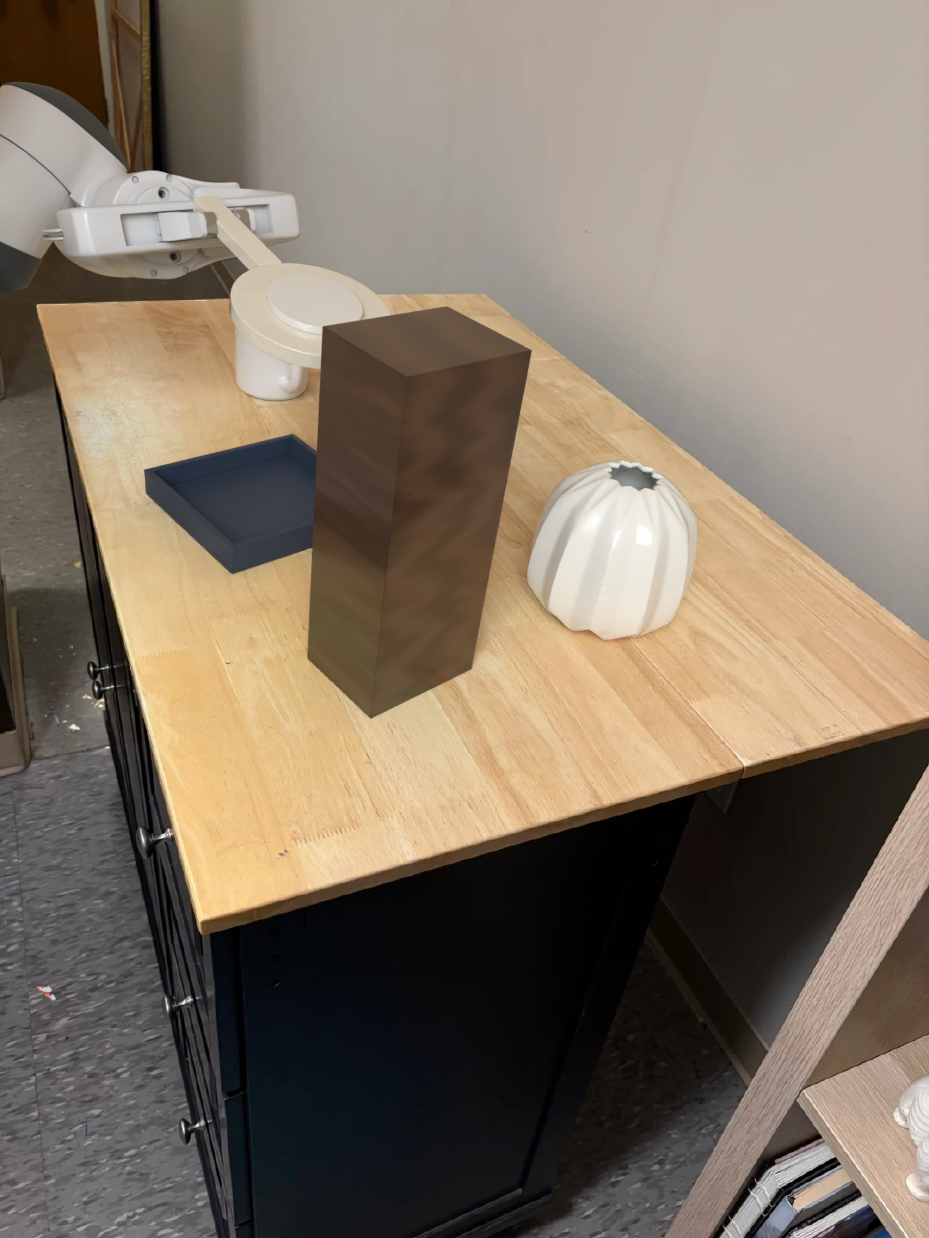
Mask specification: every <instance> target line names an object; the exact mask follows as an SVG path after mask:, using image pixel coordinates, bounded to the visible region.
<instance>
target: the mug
mask: <svg viewBox="0 0 929 1238" xmlns="http://www.w3.org/2000/svg"><path fill="white" fill-rule="evenodd" d="M234 369H235V370H234V371H235V372H234V373H235V381H236V385H237V387H238V388H239V390H240V391H242V392H243V393H244V394H246V395H248V396H249V397H252V398H255V399H258V400H264V401H272V402H273V401H274V402H279V401H289V400H292V399H295V398H298V397H300V396H301V395H302V394H303V393H304V392H305V391H306V390H307V387H308V380H309V368H306V367H302V366H298V365H294V364H291V363H288V362H285V361H282V360H280V359H278V358H275V357H273V356H271V355H269V354H267V353H265V352H263V351H262V350H260V349H259V348H257V347H255V346H254V345H253V344H252V343H250V342H249V341H248V340H247V339H246V338H245V337H244V336H242V335H241V333H240V332H239V331H238V330H237V328H236V327H235V326H234Z"/></svg>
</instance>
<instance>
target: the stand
mask: <svg viewBox="0 0 929 1238" xmlns="http://www.w3.org/2000/svg"><path fill="white" fill-rule="evenodd" d="M532 352H533V350H532V349H531V348H529V347H527V346H526V345H523V344H521V343H519V342H517V341H516V340H513V339H512V338H510V337H507V336H505V335H504V334H502V333H500V332H498V331H496V330H494V329H493V328H490V327H488V326H486V325H485V324H483V323H480V322H479V321H477V320H474V319H472V317H469V316H467V315H465V314H463V313H461V312H459V311H457V310H455V309H454V308H451V307H450V306H448V305H446V306H440V307H433V308H428V309H427V308H426V309H421V310H415V311H409V312H402V313H396V314H392V315H389V316H383V317H377V318H371V319H365V320H358V321H352V322H346V323H340V324H334V325H327V326H323V327H322V348H321V370H319V371H320V373H319V392H318V393H319V395H318V416H317V434H316V435H317V436H316V437H317V438H316V451H317V457H316V479H315V500H314V522H313V544H312V548H311V567H310V589H309V608H308V609H309V612H308V631H307V632H308V636H307V655H306V658H307V660H308V661H309V662H310V663H311V664H312V665H313V666H315V667H316V668H317V669H318V671H320V672H321V673H322V674H323V675H324V676H325V677H326V678H327V679H328V680H329V681H330V682H331V683H333V685H335V686H336V687H337V689H339V690H340V691H341V692H342V693H343V694H344V695H345V696H346V697H347V698H348V699H349V700H350V701H351V702H353V703H354V705H355V706H356V707H358V708H359V710H361V711H362V713H364V714H365V715H366V716H367V717H368V718H369V719H374V718H376V717H377V716H379V715H381V714H384V713H385V712H388V711H389V710H392V709H394V708H395V707H397V706H400V705H402V704H403V703H406V702H407V701H410V700H412V699H414V698H416V697H418V696H420V695H422V694H424V693H426V692H428V691H430V690H432V689H434V688H436V687H438V686H440V685H442V684H444V683H446V682H449V681H450V680H452V679H454V678H457V677H459V676H460V675H463V674H464V673H466V672H469V671H471V670H472V668H473V663H474V659H475V653H476V648H477V642H478V638H479V631H480V627H481V621H482V615H483V610H484V605H485V600H486V594H487V589H488V584H489V579H490V574H491V568H492V563H493V558H494V552H495V548H496V542H497V537H498V531H499V527H500V522H501V516H502V510H503V505H504V500H505V494H506V489H507V484H508V479H509V475H510V469H511V463H512V459H513V454H514V453H513V452H514V447H515V442H516V438H517V431H518V426H519V420H520V417H521V411H522V405H523V401H524V394H525V389H526V384H527V378H528V374H529V368H530V362H531V358H532Z"/></svg>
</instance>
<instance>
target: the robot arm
mask: <svg viewBox="0 0 929 1238" xmlns="http://www.w3.org/2000/svg"><path fill="white" fill-rule="evenodd" d="M205 196H217V197H218V198H219V199H220V200H221V201H222V202H223V203H224V204H225V205H226V206H227V207H228V208H229V209H230V211H231V212H232V213H233V214H234V215H235V216H236V217H237V218H238V219H239V220H240V221H241V222H242V223H243V224H244V225H245V226H246V227H247V228H248V229H249V230H250V231H251V232H252V233H253V234H254V235H255V236H256V237H257V238H258V239H259V240H260V241H261V242H262V243H263V244H264V245H265V246H266V247H271V246H275V245H279V244H284V243H289V242H292V241H295V240H297V239H298V238H299V237H300V236H301V232H302V224H301V214H300V208H299V204H298V200H297V198H296V196H295V195H294V194H292V193H290V192H284V191H276V190H265V189H255V188H254V189H253V188H241V186H240V184H239V183H238V182H235V181H233V182H232V181H231V182H230V181H229V182H228V181H226V180H225V181H224V180H223V181H222V180H221V181H218V180H217V181H215V180H213V181H212V180H204V179H203V180H202V179H192V178H189V177H185V176H181V175H177V174H170V173H167V172H164V171H160V170H143V171H136V172H131V173H129V167H128V163H127V161H126V158H125V156H124V154H123V152H122V150H121V148H120V146H119V144H118V142H117V141H116V139H115V138H114V136H113V135H112V134H111V133H110V131H109V130H108V129H107V128H106V127H105V125H104V124H103V123H102V122H101V121H100V120H99V118H97V117H96V116H95V115H94V114H93V113H92V112H91V111H90V110H89V109H88V108H86V107H85V106H84V105H82V104H81V103H80V102H79V101H77V100H76V98H73V97H72V96H71V95H69V94H67V93H66V92H64V91H62V90H59V89H56V88H54V87H52V86H47V85H43V84H39V83H32V82H26V81H11V82H6V83H2V84H1V85H0V295H1V294H8V293H12V292H17V291H21V290H24V289H27V288H29V286H30V284H31V282H32V281H33V278H34V277H35V275H36V273H37V271H38V270H39V268H40V265H41V264H42V263H43V257H44V256H45V254H46V253H47V251H48V250H49V248H50V247H51V245H52V244H53V243H54V245H55V247H56V248H57V249H58V250H59V252H60V253H61V254H62V255H63V256H64V258H67V259H68V260H69V261H70V262H72V263H73V264H75V265H76V266H79V267H80V268H82V269H84V270H87V271H89V272H91V273H95V274H97V275H100V276H101V275H102V276H105V277H112V278H124V279H125V278H127V279H128V278H136V279H148V280H173V279H177V278H181V277H182V276H185V275H186V274H188V273H191V272H195V271H198V270H199V269H201V268H203V267H206V266H208V265H210V264H211V265H212V264H217V263H221V262H224V261H230V260H236V259H238V258H237V257H236V256H235V255H234V254H233V253H232V252H231V251H230V250H229V248H228V247H227V246H226V245H225V244H224V243H223V242H222V241H221V240H220V239H219V238H218V237H217V235H218V227H217V225H216V221H217V219H216V215H215V213H214V212H193V198H194V197H205Z"/></svg>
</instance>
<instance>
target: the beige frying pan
mask: <svg viewBox="0 0 929 1238" xmlns="http://www.w3.org/2000/svg"><path fill="white" fill-rule="evenodd" d="M193 212H214V213H215V215H216V219H217V221H216V225H217V227H218V235H217V237H218V238H219V239H220V240H221V241H222V242H223V243H224V244H225V245H226V246H227V247H228V248H229V250H230V251H231V252H232V253H233V254H234V255H235V256H236V257H237V258H236V259H238V260H239V261H240V262H241V263H242V265H244V267H246V268H247V271H245V272H243V273H242V274H240V275H239V276H238V277H237V278H236V279H235V281H234V282H233V283H232V286H231V288H230V295H229V304H228V310H229V316H230V319H231V321H232V323H233V325H234V328H235V327H236V328H237V330H238V331H239V332H240V333H241V335H242V336H244V337H245V338H246V339H247V340H248V341H249V342H250V343H252V344H253V345H254V346H255V347H257V348H259V349H260V350H262V351H263V352H265V353H267V354H269V355H271V356H273V357H275V358H278V359H280V360H282V361H285V362H288V363H291V364H294V365H298V366H302V367H306V368H308V369H312V370H317V371H318V370H319V371H320V370H321V348H322V327H323V326H327V325H334V324H340V323H346V322H352V321H358V320H365V319H371V318H377V317H383V316H389V315H393V314H392V312H391V310H390V308H389V307H388V306H387V304H386V302H385V301H384V300H383V299H381V297H380V296H379V295H378V294H377V293H376V292H374V291H373V290H372V289H370V288H368V287H367V286H366V285H364V284H363V283H361V282H359V281H358V280H356V279H354V278H352V277H350V276H348V275H345V274H342V273H340V272H338V271H334V270H331V269H328V268H324V267H321V266H316V265H312V264H311V265H310V264H304V263H292V262H282V260H280V259H279V258H278V257H277V256H276V255H275V253H273V251H272V250H270V248H268V246H265V245H264V244H263V243H262V242H261V241H260V240H259V239H258V238H257V237H256V236H255V235H254V234H253V233H252V232H251V231H250V230H249V229H248V228H247V227H246V226H245V225H244V224H243V223H242V222H241V221H240V220H239V219H238V218H237V217H236V216H235V215H234V214H233V213H232V212H231V211H230V209H229V208H228V207H227V206H226V205H225V204H224V203H223V202H222V201H221V200H220V199H219V198H218V197H217V196H205V197H194V198H193Z"/></svg>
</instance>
